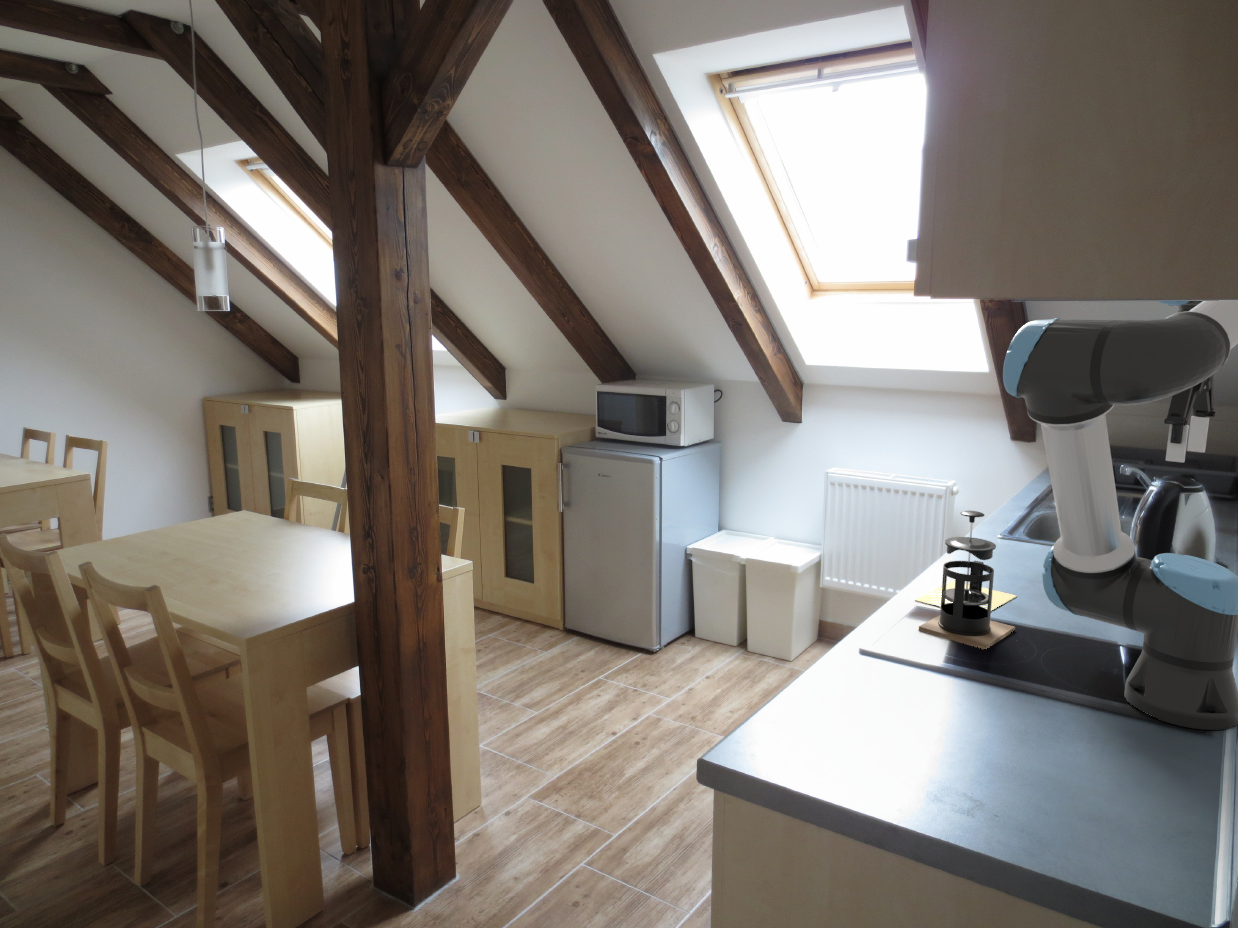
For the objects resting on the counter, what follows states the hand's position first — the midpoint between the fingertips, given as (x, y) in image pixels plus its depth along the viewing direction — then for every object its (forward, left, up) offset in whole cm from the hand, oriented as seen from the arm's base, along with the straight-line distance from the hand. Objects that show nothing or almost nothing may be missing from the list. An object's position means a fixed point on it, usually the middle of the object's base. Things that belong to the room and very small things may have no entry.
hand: (1185, 456), depth 150 cm
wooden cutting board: (-24, +27, -35) cm, 50 cm away
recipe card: (-7, +35, -35) cm, 50 cm away
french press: (-24, +27, -34) cm, 50 cm away
